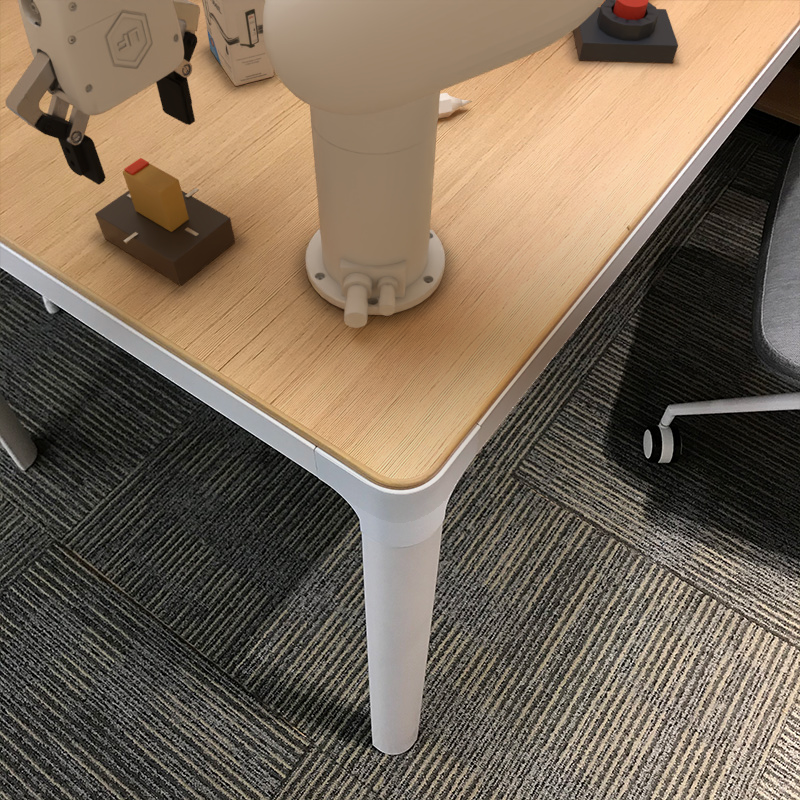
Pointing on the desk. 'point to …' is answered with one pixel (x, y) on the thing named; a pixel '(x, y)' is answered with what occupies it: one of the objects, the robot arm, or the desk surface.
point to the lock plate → (168, 236)
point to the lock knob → (156, 194)
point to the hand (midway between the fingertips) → (136, 145)
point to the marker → (449, 105)
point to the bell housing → (626, 36)
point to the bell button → (630, 9)
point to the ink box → (238, 38)
